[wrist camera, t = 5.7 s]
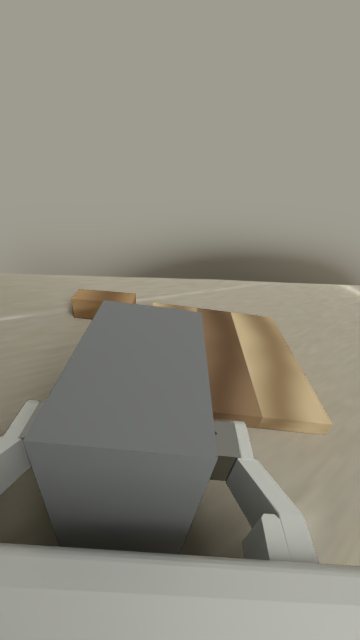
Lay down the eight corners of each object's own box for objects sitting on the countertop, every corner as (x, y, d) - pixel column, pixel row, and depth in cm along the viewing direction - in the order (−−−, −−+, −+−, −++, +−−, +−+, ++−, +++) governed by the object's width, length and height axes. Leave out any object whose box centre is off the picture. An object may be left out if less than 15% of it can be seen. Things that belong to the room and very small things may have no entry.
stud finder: (69, 579, 10) (20, 440, 5) (107, 441, 15) (102, 299, 10) (167, 584, 11) (220, 458, 5) (172, 448, 16) (202, 312, 10)
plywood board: (130, 415, 17) (130, 403, 16) (152, 311, 29) (153, 302, 28) (324, 434, 18) (332, 424, 17) (269, 326, 30) (272, 317, 29)
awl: (74, 317, 26) (71, 298, 25) (81, 307, 28) (79, 289, 27) (180, 325, 26) (182, 307, 25) (180, 314, 28) (182, 297, 27)
